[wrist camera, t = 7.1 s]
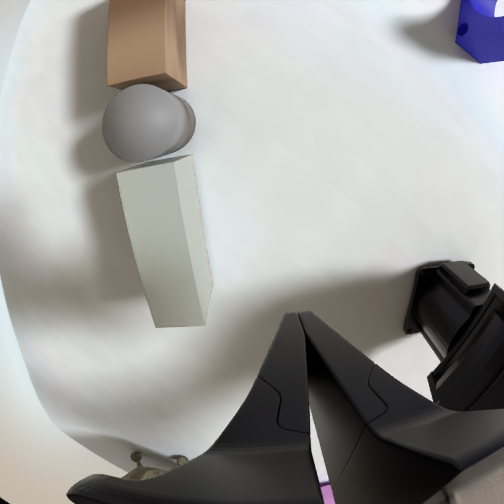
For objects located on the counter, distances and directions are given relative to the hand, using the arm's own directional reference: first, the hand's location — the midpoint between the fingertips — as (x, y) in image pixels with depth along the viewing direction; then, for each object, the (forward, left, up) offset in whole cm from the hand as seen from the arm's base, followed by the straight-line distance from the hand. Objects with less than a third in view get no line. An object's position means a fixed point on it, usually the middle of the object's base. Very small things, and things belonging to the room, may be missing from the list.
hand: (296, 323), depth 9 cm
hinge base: (+12, +6, -11) cm, 17 cm away
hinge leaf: (+2, +6, -10) cm, 12 cm away
